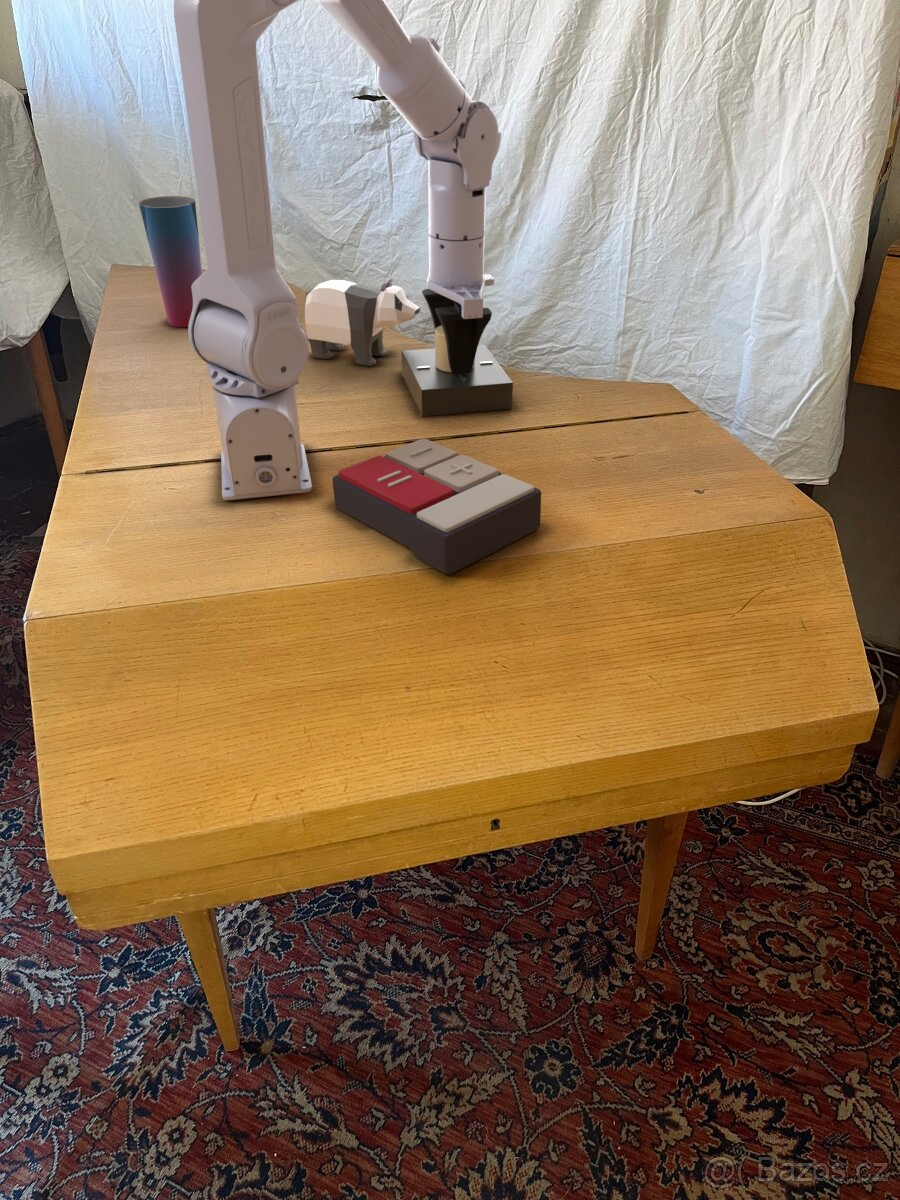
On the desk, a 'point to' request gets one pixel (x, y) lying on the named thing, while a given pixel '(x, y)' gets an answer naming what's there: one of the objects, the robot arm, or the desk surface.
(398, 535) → the calculator
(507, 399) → the panel
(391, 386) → the desk surface
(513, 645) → the desk surface
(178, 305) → the cup
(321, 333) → the giant panda
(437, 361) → the dial
